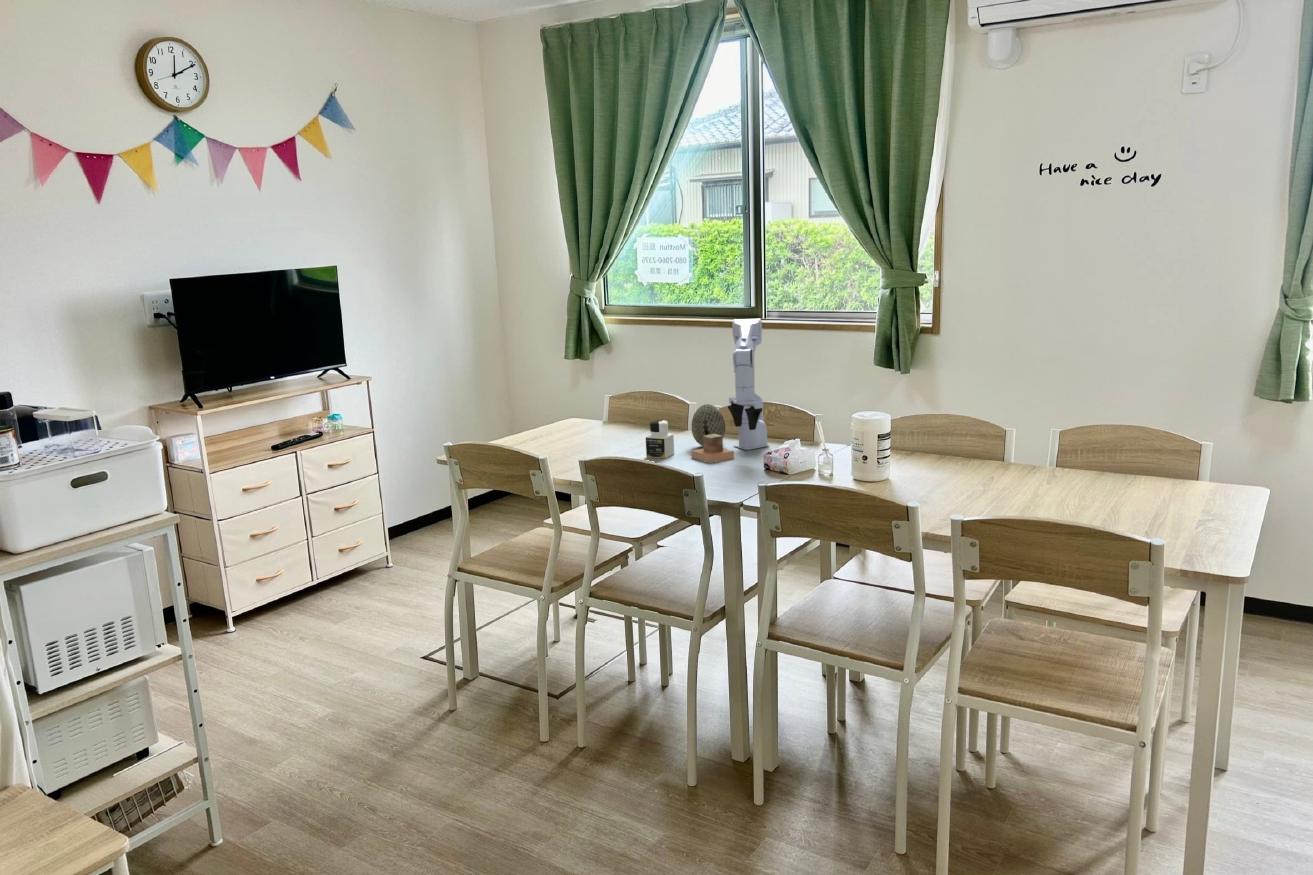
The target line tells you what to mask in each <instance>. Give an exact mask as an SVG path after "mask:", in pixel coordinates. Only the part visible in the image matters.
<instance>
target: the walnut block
mask: <svg viewBox="0 0 1313 875" xmlns="http://www.w3.org/2000/svg"><path fill="white" fill-rule="evenodd" d="M723 439H724V437H723V436H721V435H717V434H711V435H705V436H703V446H702V447H703V448H702V449H704V451H707V452H710V453H714V452H719V451H723V448H724V443H723V442H724V440H723Z"/></svg>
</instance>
